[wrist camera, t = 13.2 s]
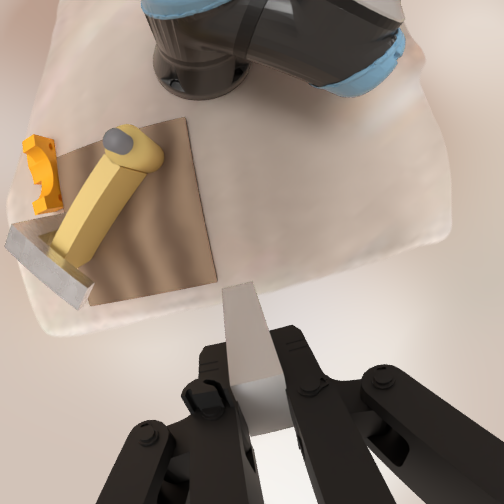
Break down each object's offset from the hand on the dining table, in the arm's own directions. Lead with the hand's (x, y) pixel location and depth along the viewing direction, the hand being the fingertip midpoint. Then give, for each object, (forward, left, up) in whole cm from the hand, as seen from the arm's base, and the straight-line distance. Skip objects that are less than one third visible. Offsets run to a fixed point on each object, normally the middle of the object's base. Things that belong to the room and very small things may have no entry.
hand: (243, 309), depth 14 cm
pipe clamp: (+27, -16, -29) cm, 43 cm away
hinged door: (+15, -8, -27) cm, 32 cm away
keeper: (+20, -3, -29) cm, 35 cm away
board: (+14, -5, -29) cm, 32 cm away
